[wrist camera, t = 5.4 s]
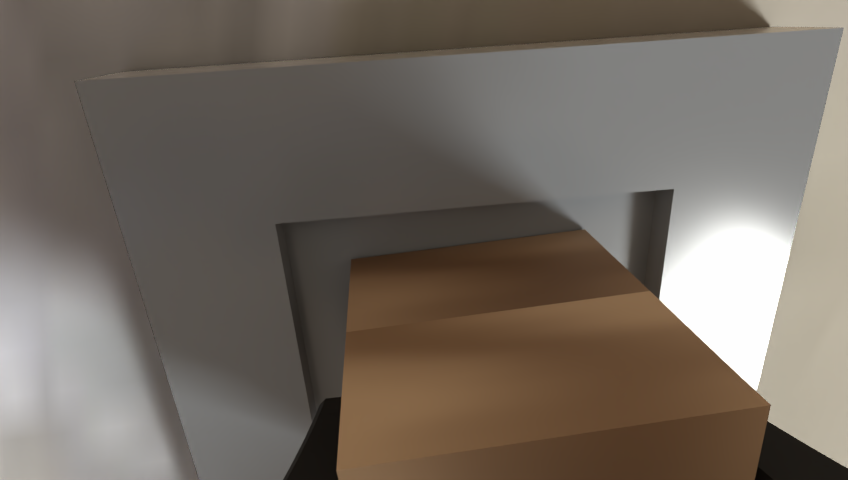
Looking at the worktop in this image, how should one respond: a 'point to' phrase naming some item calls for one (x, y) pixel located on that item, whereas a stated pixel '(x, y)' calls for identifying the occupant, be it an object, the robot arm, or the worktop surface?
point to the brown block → (532, 372)
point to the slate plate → (443, 196)
